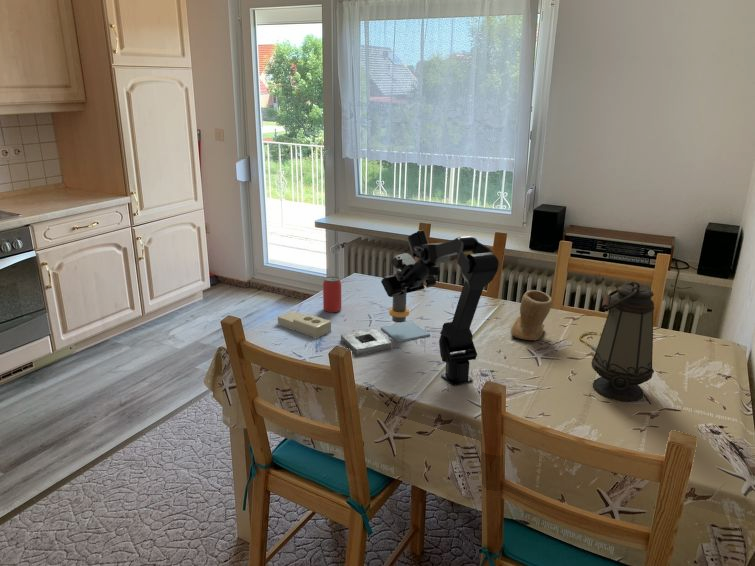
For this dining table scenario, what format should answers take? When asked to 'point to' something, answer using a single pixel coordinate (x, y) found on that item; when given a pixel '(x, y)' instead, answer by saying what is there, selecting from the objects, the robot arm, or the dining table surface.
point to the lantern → (625, 344)
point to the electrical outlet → (305, 323)
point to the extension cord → (587, 343)
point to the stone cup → (532, 315)
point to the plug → (399, 304)
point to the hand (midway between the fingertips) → (397, 294)
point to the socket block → (360, 348)
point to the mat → (405, 331)
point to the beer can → (332, 294)
